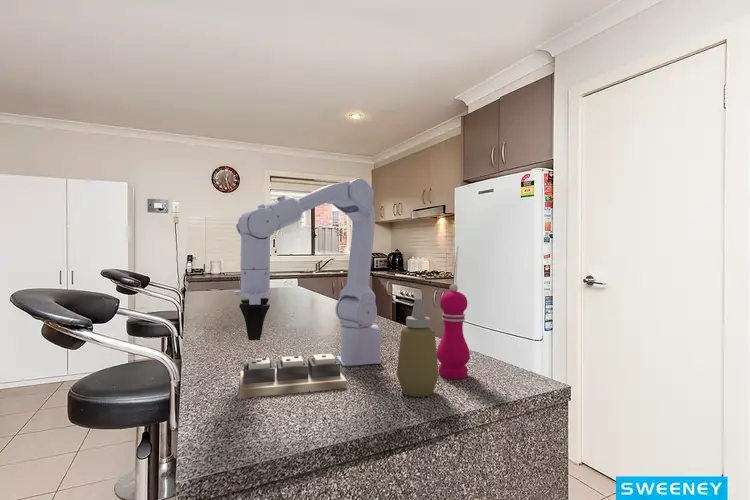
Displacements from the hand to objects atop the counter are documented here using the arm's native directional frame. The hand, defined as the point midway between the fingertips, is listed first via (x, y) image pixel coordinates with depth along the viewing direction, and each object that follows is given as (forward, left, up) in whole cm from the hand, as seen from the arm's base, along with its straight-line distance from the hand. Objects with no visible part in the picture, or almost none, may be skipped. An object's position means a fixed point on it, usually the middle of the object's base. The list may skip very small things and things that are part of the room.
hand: (254, 335), depth 81 cm
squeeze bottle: (-30, +14, -10) cm, 35 cm away
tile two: (-7, +2, -7) cm, 10 cm away
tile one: (-14, +2, -7) cm, 16 cm away
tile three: (-1, +2, -7) cm, 7 cm away
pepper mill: (-42, +6, -10) cm, 43 cm away
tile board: (-7, +2, -10) cm, 12 cm away
